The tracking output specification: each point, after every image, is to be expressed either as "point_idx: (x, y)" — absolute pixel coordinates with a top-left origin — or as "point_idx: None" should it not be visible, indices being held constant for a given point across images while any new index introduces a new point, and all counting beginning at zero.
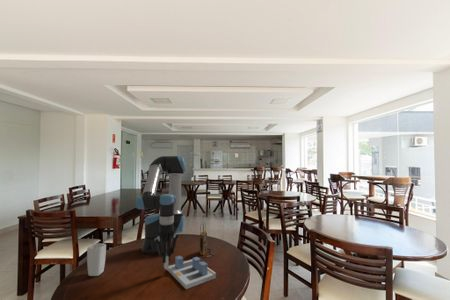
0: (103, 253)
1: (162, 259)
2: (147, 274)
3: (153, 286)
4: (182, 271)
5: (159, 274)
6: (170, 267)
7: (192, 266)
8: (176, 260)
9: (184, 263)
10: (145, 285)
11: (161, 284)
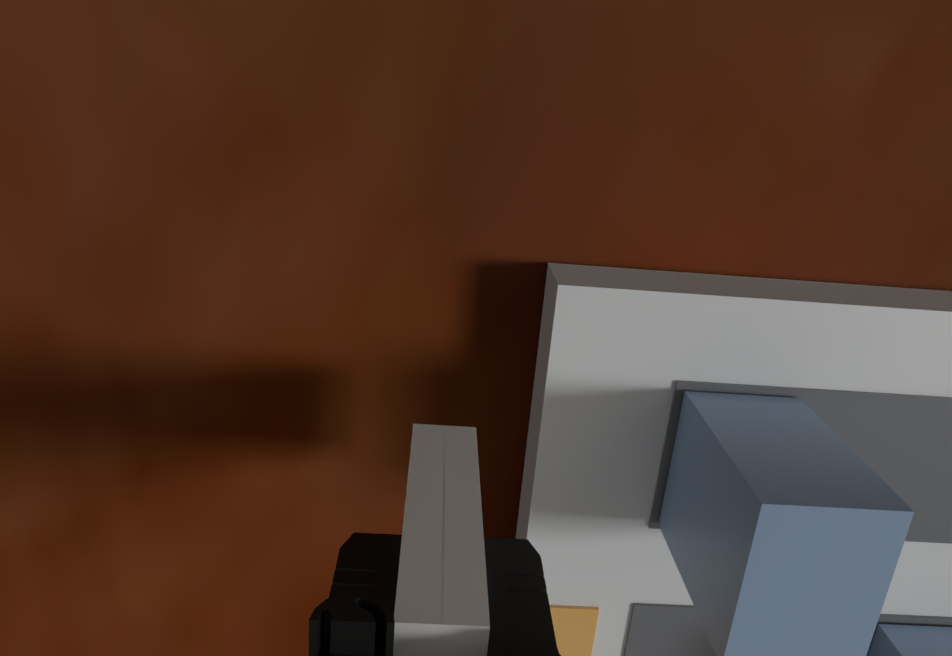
0: None
1: (333, 586)
2: (145, 160)
3: (136, 591)
4: (659, 636)
5: (350, 318)
6: (584, 368)
7: (886, 643)
8: (719, 537)
9: (897, 406)
10: (28, 498)
11: (259, 611)
